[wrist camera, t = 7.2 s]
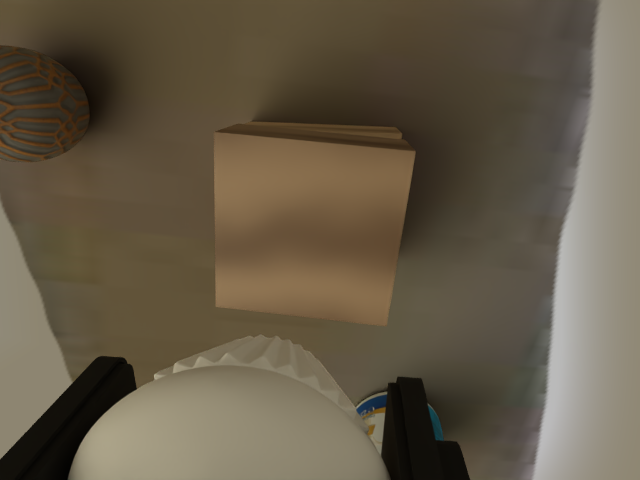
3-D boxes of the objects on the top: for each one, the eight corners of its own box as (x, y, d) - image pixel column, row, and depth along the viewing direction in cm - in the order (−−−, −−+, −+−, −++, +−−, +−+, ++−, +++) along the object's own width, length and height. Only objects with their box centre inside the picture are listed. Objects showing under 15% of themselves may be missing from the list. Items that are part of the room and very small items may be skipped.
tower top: (238, 123, 24) (213, 131, 20) (404, 139, 24) (416, 151, 20) (236, 273, 28) (216, 306, 24) (381, 289, 28) (386, 326, 23)
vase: (116, 77, 28) (18, 74, 20) (95, 167, 30) (0, 198, 22) (19, 32, 27) (-123, 10, 19) (6, 128, 30) (-124, 145, 22)
